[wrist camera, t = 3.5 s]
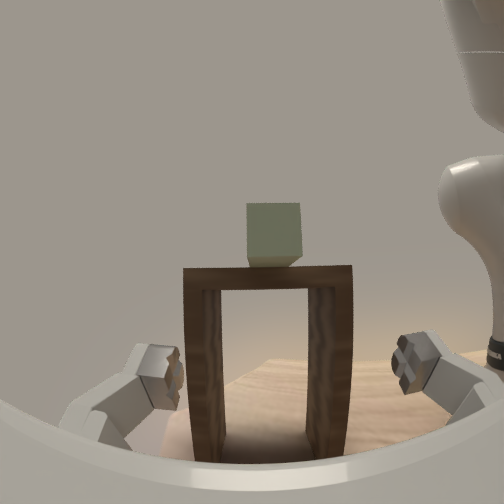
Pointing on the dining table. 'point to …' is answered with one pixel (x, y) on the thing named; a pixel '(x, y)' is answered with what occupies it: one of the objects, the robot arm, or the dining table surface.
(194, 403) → the stand
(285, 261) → the batten
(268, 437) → the dining table surface
